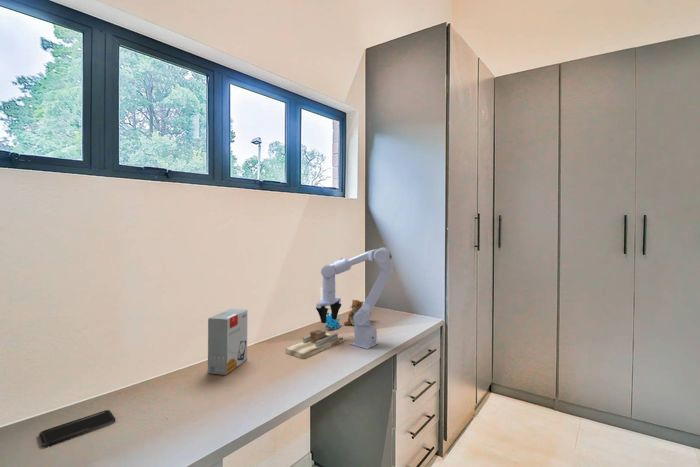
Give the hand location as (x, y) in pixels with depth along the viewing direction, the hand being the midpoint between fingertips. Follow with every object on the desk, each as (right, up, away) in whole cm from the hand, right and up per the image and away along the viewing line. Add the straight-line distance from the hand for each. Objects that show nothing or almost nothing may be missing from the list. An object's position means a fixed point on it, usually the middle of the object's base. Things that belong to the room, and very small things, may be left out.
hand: (328, 320), depth 158 cm
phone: (-61, -12, -67) cm, 91 cm away
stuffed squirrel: (+14, -9, +28) cm, 32 cm away
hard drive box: (-36, -10, -27) cm, 46 cm away
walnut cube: (-5, -8, -6) cm, 11 cm away
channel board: (-5, -10, -6) cm, 13 cm away
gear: (0, -9, +21) cm, 23 cm away
